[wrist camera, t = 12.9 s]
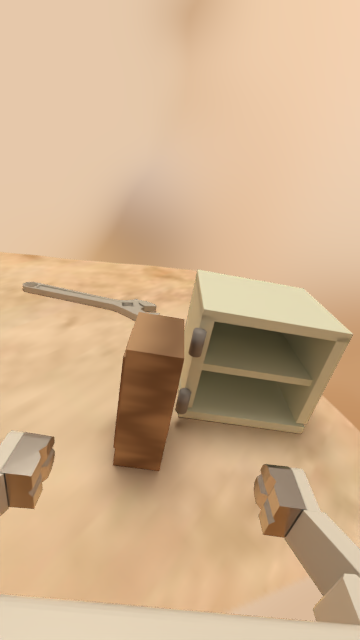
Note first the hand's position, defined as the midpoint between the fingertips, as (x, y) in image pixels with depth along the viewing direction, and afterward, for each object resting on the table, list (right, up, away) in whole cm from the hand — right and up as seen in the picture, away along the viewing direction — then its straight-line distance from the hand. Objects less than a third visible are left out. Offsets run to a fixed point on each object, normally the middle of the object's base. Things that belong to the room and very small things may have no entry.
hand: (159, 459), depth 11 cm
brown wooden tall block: (-3, -6, +16) cm, 18 cm away
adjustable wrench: (-15, +8, +41) cm, 45 cm away
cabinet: (+7, -4, +26) cm, 27 cm away
